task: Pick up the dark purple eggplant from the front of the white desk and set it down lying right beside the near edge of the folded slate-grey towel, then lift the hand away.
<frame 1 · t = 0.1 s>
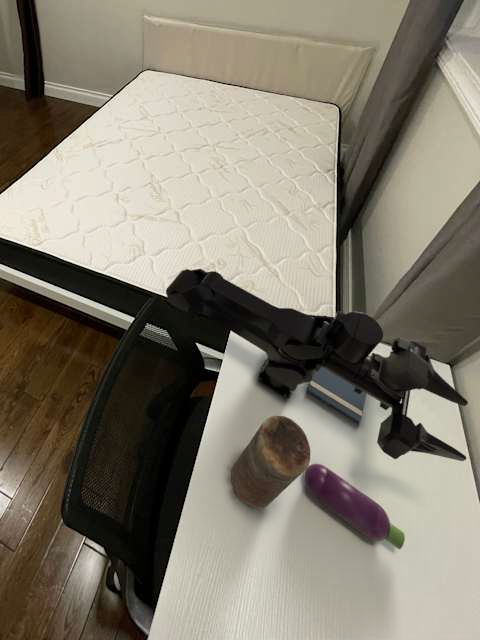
hand: (465, 430, 56), 17 cm above the table, tool horizontal, fingers open, 9 cm apart
eggplant: (339, 503, 61), on the table
towel: (340, 378, 78), on the table
brown textured cylinder: (252, 482, 64), on the table
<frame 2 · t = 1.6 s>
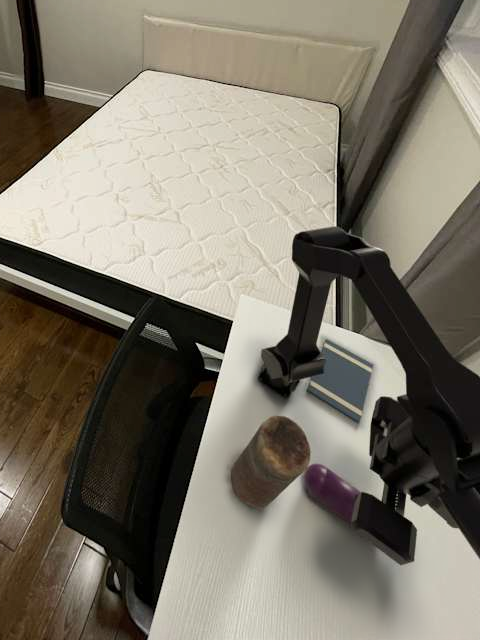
hand: (367, 486, 54), 11 cm above the table, tool pointing down, fingers open, 9 cm apart
nothing on the table moved.
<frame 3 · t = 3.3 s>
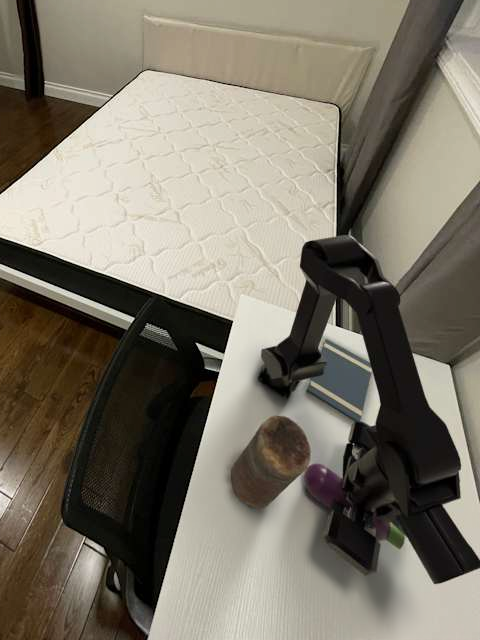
hand: (342, 502, 61), 1 cm above the table, tool pointing down, fingers closed on eggplant, 5 cm apart
eggplant: (339, 503, 61), on the table, touching gripper
everything else where it was.
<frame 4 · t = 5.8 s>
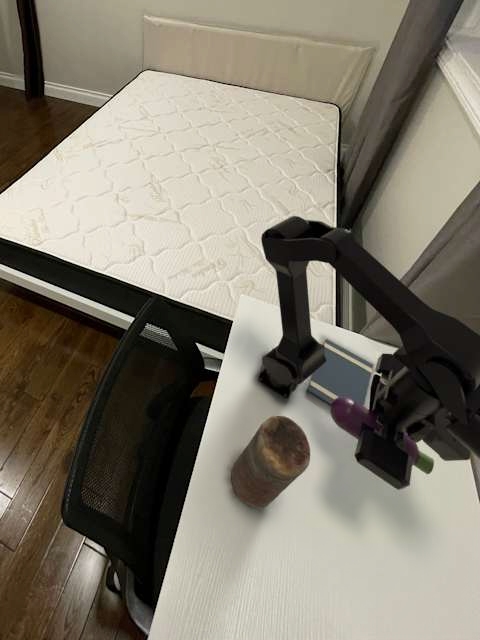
hand: (368, 432, 61), 10 cm above the table, tool pointing down, fingers closed on eggplant, 5 cm apart
eggplant: (365, 435, 61), point 9 cm above the table, touching gripper
everything else where it was.
when the fingers open (1 cm above the table, at t = 8.4 s): eggplant stays where it is, on the table.
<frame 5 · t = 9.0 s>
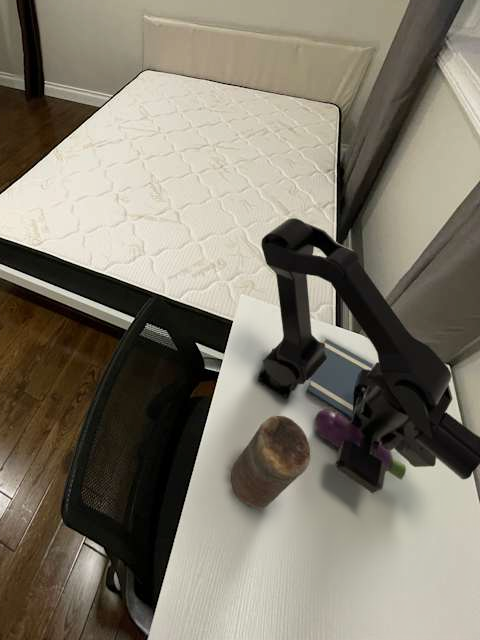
hand: (350, 441, 67), 2 cm above the table, tool pointing down, fingers open, 9 cm apart
eggplant: (347, 443, 68), on the table
everything else where it was.
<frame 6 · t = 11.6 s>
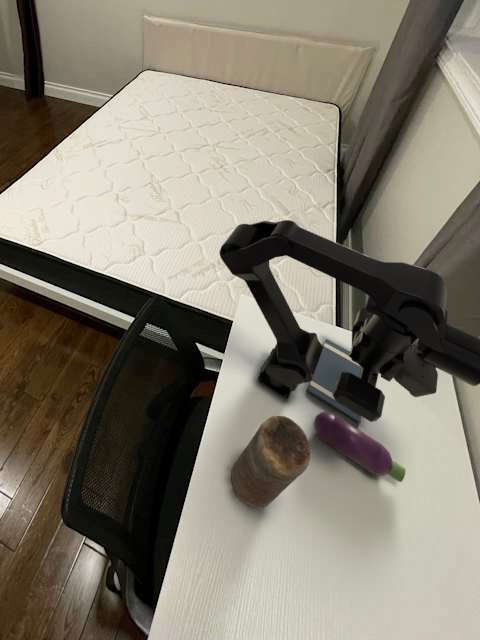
hand: (348, 381, 65), 12 cm above the table, tool pointing down, fingers open, 9 cm apart
eggplant: (347, 443, 68), on the table, tilted 14°
everything else where it was.
at the end: eggplant inside the target area on the table beside the towel (2.5 cm from its centre), on the table; the gripper is holding nothing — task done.
